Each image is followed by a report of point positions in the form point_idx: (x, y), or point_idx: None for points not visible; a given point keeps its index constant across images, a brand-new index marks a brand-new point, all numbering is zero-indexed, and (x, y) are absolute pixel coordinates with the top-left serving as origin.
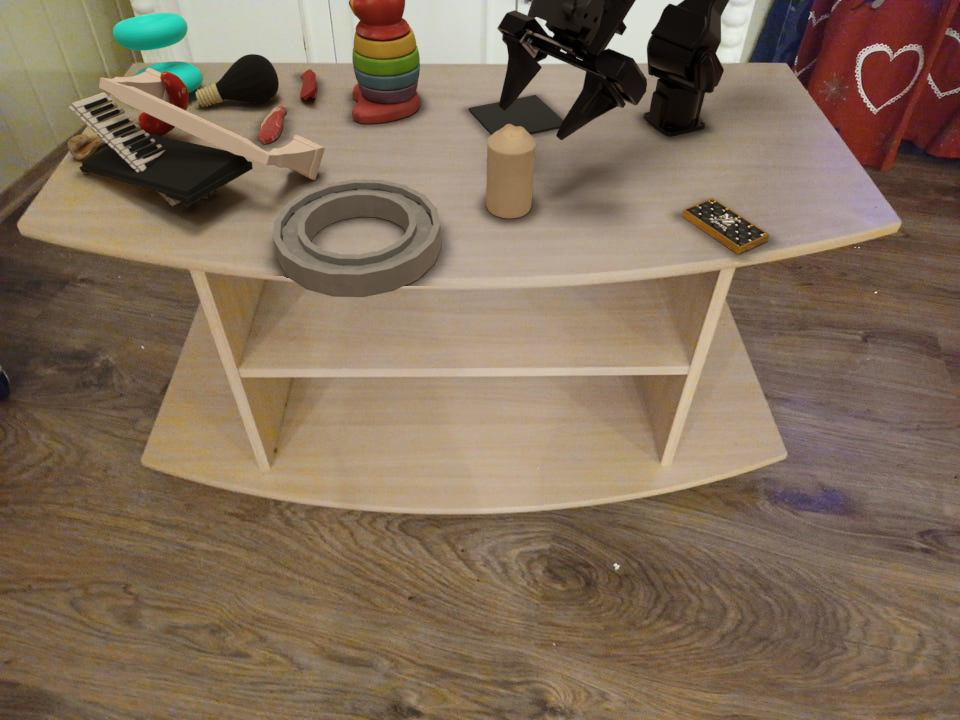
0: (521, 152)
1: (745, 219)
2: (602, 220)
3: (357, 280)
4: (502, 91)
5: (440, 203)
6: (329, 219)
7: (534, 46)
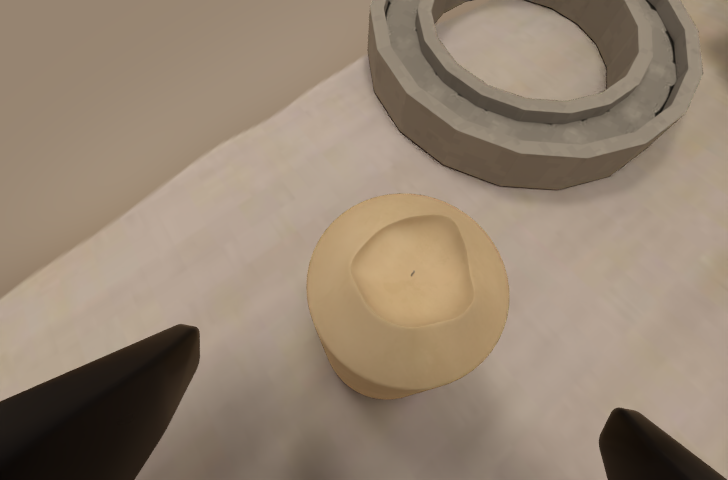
0: (323, 234)
1: None
2: None
3: None
4: (710, 468)
5: (518, 245)
6: (613, 66)
7: None
